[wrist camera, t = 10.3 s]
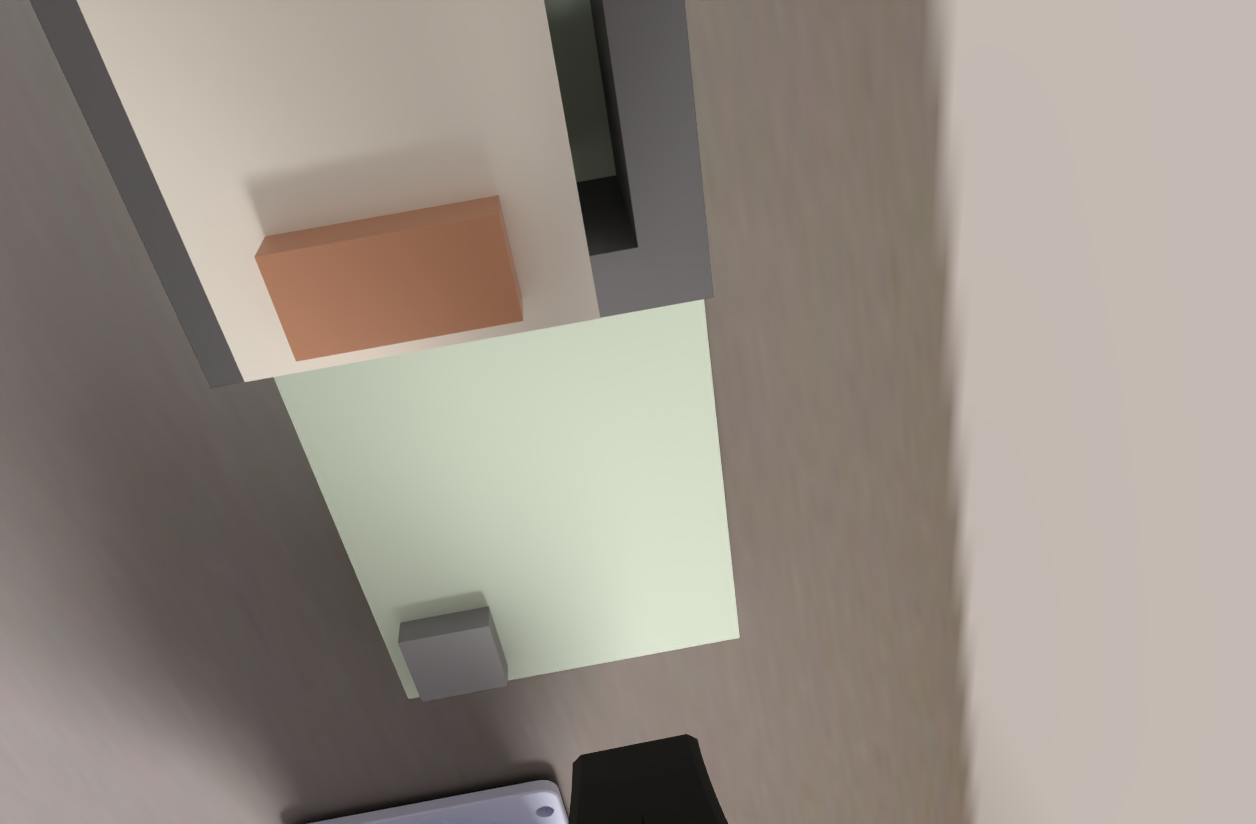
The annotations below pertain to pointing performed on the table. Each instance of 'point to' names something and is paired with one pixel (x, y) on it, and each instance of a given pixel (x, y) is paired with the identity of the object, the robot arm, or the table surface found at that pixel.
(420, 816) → the robot arm
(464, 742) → the table surface
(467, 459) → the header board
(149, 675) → the table surface
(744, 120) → the table surface
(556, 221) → the plug
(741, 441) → the table surface
